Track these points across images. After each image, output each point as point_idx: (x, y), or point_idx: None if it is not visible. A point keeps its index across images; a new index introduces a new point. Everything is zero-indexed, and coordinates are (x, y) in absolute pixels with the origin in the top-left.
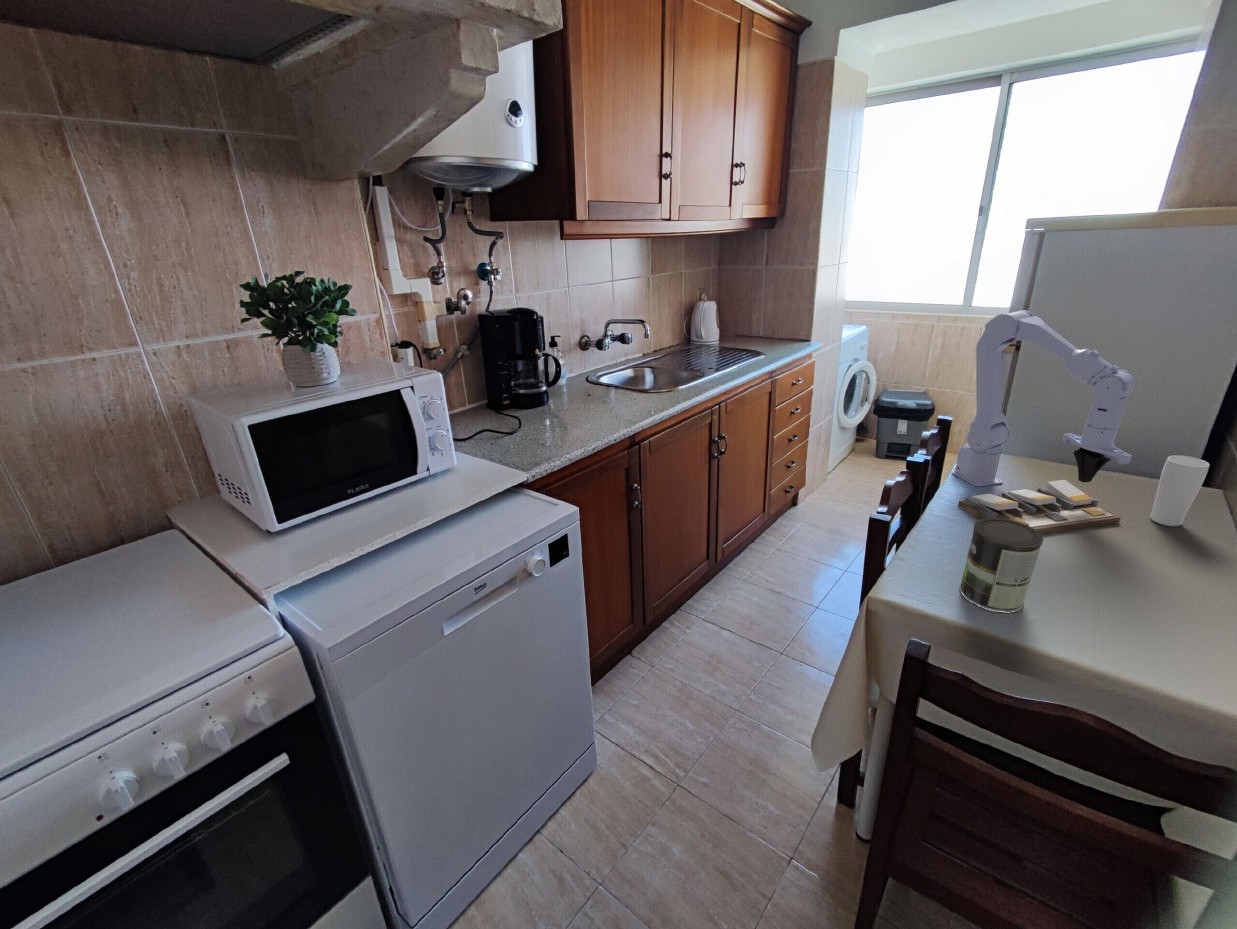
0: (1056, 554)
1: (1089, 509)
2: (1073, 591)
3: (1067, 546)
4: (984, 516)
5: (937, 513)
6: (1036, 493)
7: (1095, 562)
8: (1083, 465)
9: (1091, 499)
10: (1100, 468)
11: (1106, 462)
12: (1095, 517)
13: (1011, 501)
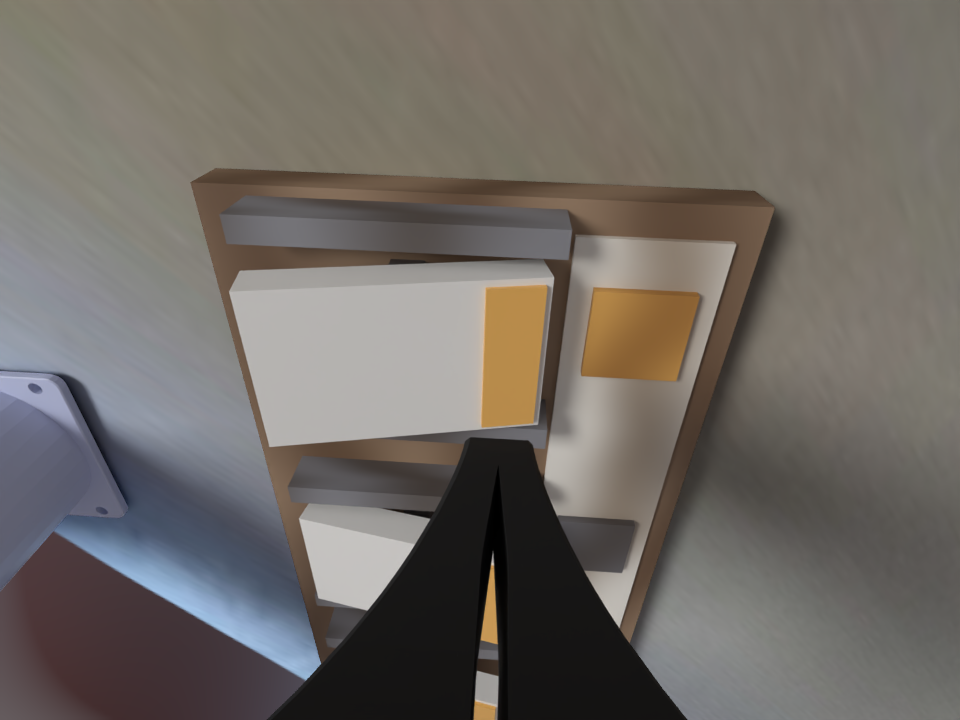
0: (760, 650)
1: (606, 341)
2: None
3: (748, 594)
4: None
5: None
6: (397, 556)
7: (881, 605)
8: (474, 704)
9: (550, 291)
10: (588, 579)
11: (664, 702)
12: (689, 381)
13: (479, 713)
